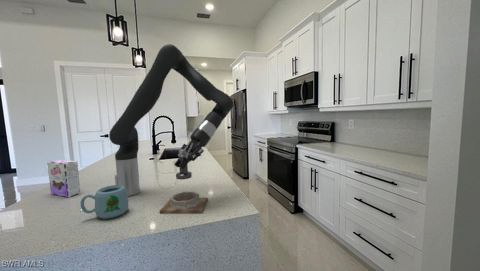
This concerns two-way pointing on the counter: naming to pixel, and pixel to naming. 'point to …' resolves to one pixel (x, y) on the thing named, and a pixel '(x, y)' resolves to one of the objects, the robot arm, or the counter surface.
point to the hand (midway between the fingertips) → (178, 166)
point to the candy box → (64, 178)
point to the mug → (108, 202)
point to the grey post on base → (184, 172)
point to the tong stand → (184, 203)
